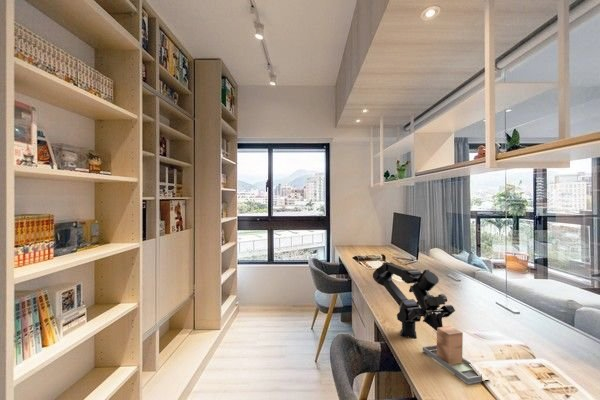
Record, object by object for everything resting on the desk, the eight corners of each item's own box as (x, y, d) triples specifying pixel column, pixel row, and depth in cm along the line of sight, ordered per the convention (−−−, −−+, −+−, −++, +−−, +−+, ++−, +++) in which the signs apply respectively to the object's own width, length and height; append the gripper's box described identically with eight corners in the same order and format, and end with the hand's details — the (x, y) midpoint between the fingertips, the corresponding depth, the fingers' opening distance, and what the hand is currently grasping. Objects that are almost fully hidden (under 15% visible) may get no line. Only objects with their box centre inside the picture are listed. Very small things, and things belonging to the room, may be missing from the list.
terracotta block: (436, 356, 114) (436, 327, 114) (449, 354, 115) (450, 325, 115) (448, 365, 108) (449, 334, 108) (462, 362, 110) (462, 332, 110)
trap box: (422, 352, 119) (422, 347, 119) (441, 349, 122) (441, 344, 122) (468, 384, 98) (468, 378, 98) (489, 380, 100) (490, 374, 100)
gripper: (412, 288, 118) (432, 328, 107) (451, 285, 123) (474, 322, 112) (400, 302, 125) (417, 340, 115) (437, 298, 131) (457, 335, 120)
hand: (442, 334), depth 115 cm, fingers closed
